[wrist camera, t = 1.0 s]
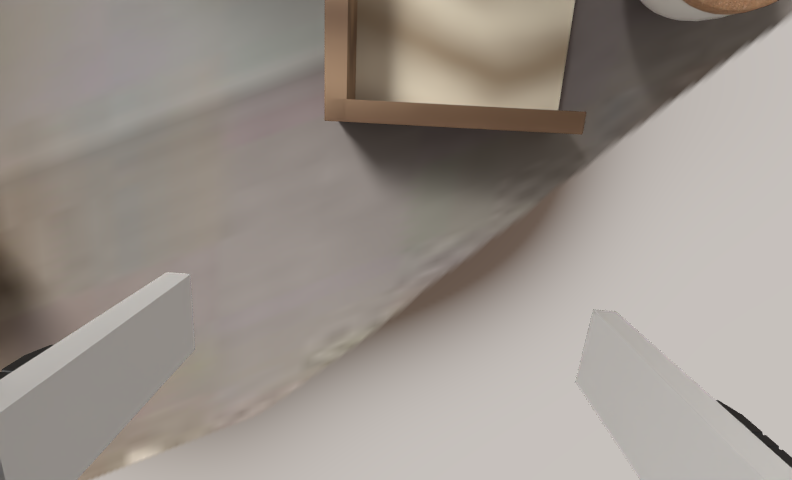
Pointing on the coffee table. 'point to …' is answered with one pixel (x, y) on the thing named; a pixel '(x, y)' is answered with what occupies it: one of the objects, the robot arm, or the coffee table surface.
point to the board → (463, 51)
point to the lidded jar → (703, 8)
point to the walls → (420, 114)
